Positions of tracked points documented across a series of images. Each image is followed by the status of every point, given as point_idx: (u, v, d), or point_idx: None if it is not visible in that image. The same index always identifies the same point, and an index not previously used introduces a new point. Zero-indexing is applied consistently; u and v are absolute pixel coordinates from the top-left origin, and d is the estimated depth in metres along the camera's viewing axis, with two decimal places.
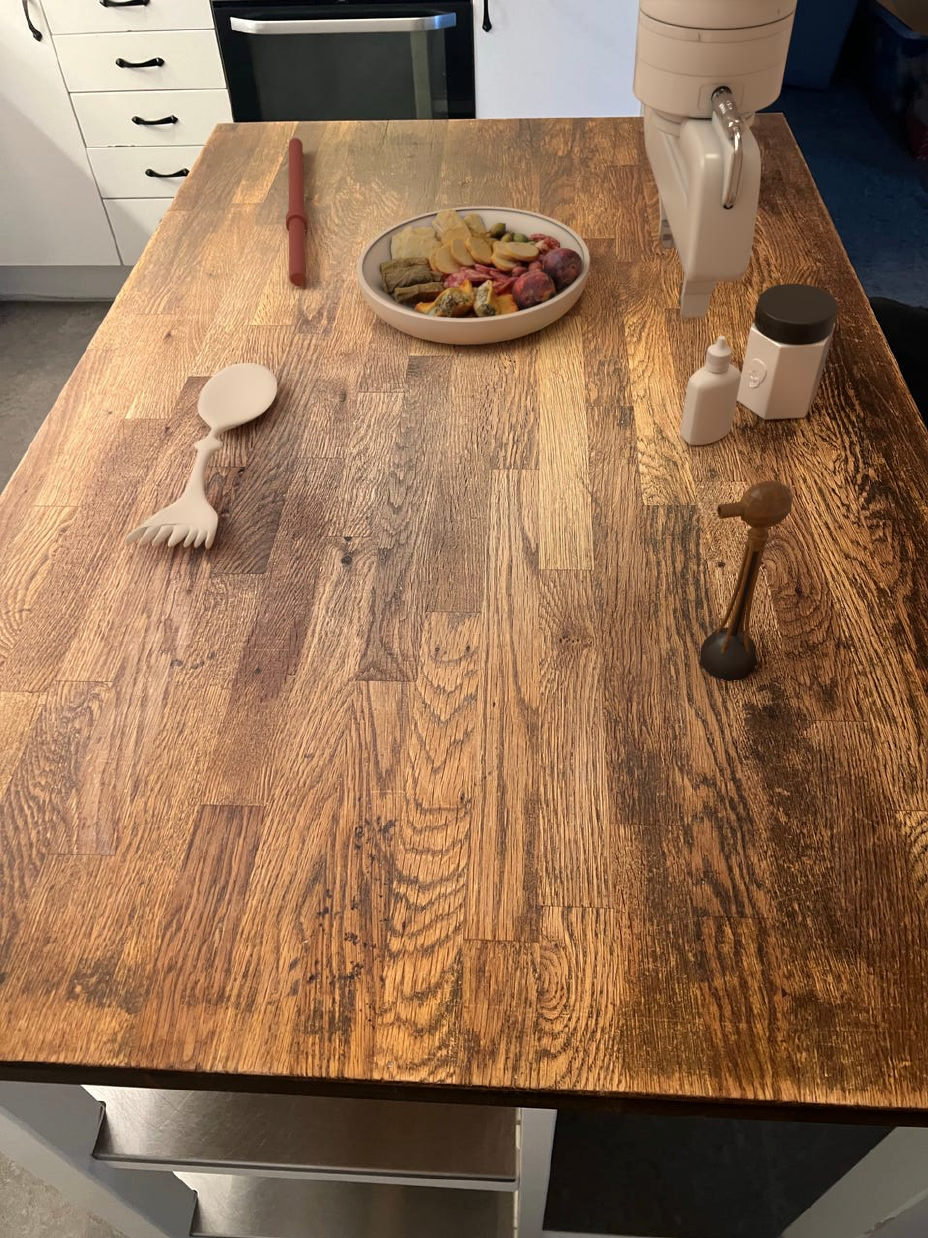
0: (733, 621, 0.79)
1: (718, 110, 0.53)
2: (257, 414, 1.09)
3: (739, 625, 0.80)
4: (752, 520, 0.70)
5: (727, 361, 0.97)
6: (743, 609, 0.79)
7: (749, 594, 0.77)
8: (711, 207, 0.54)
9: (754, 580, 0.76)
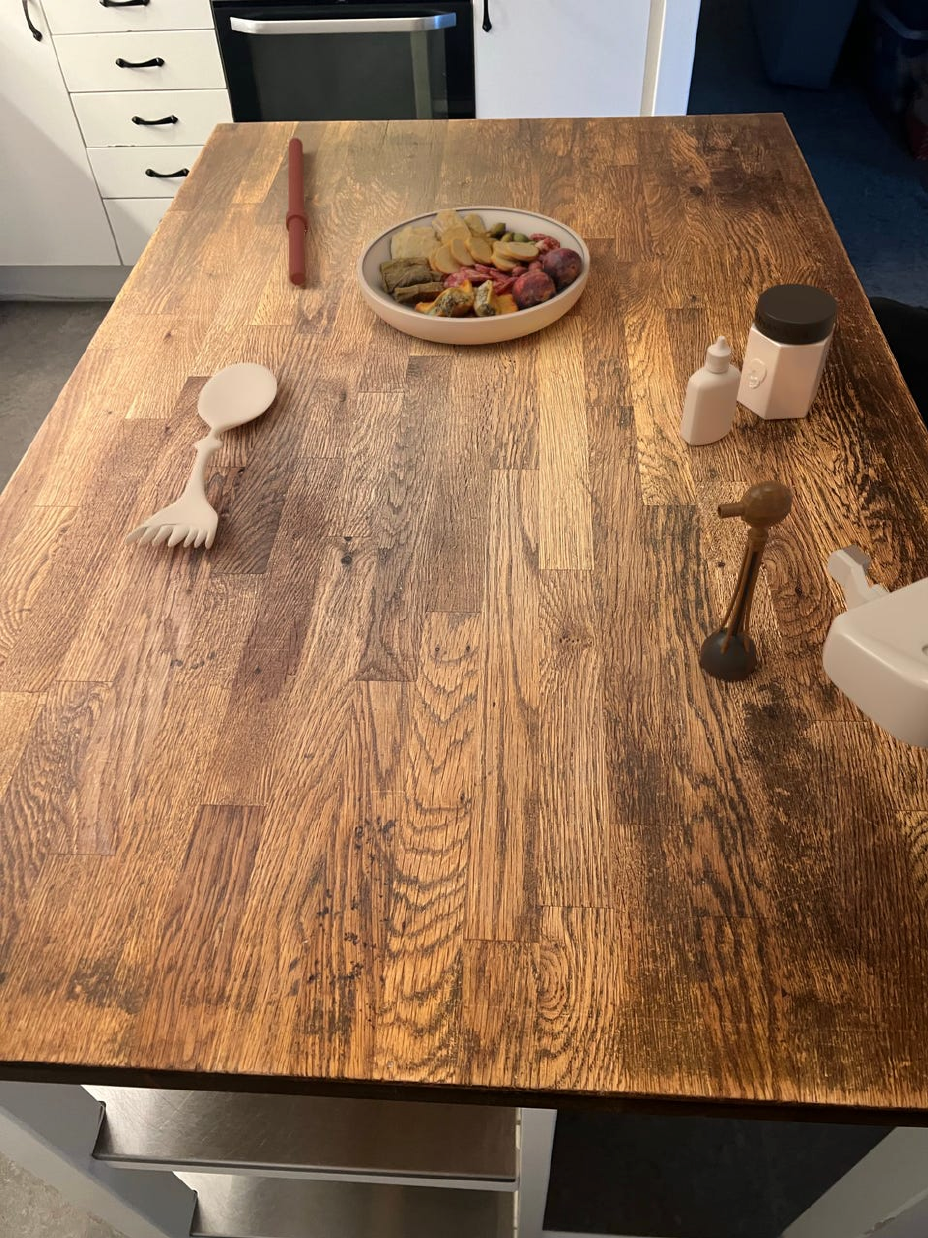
0: (733, 621, 0.79)
1: None
2: (257, 414, 1.09)
3: (739, 625, 0.80)
4: (752, 520, 0.70)
5: (727, 361, 0.97)
6: (743, 609, 0.79)
7: (749, 594, 0.77)
8: None
9: (754, 580, 0.76)
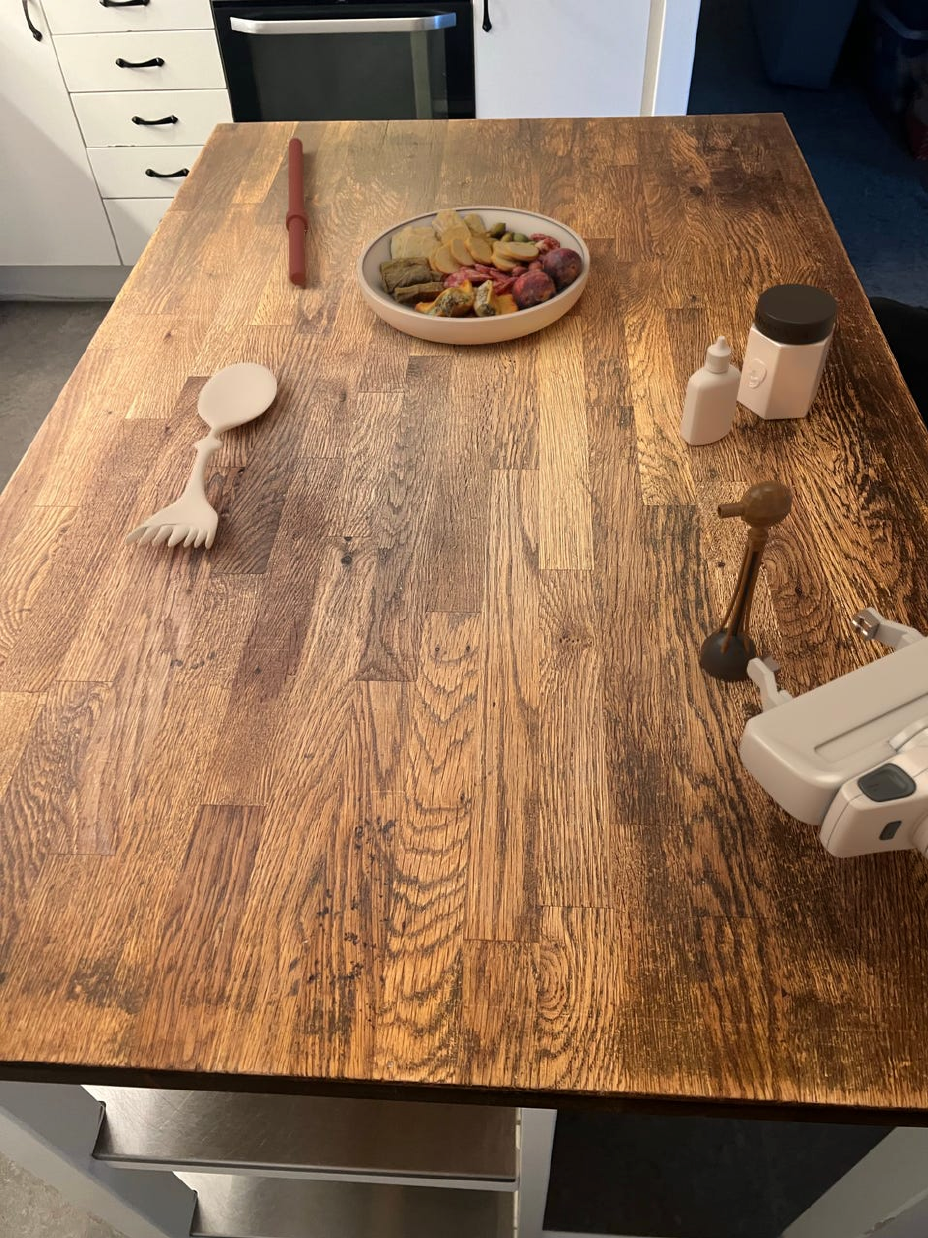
0: (733, 621, 0.79)
1: None
2: (257, 414, 1.09)
3: (739, 625, 0.80)
4: (752, 520, 0.70)
5: (727, 361, 0.97)
6: (743, 609, 0.79)
7: (749, 594, 0.77)
8: None
9: (754, 580, 0.76)
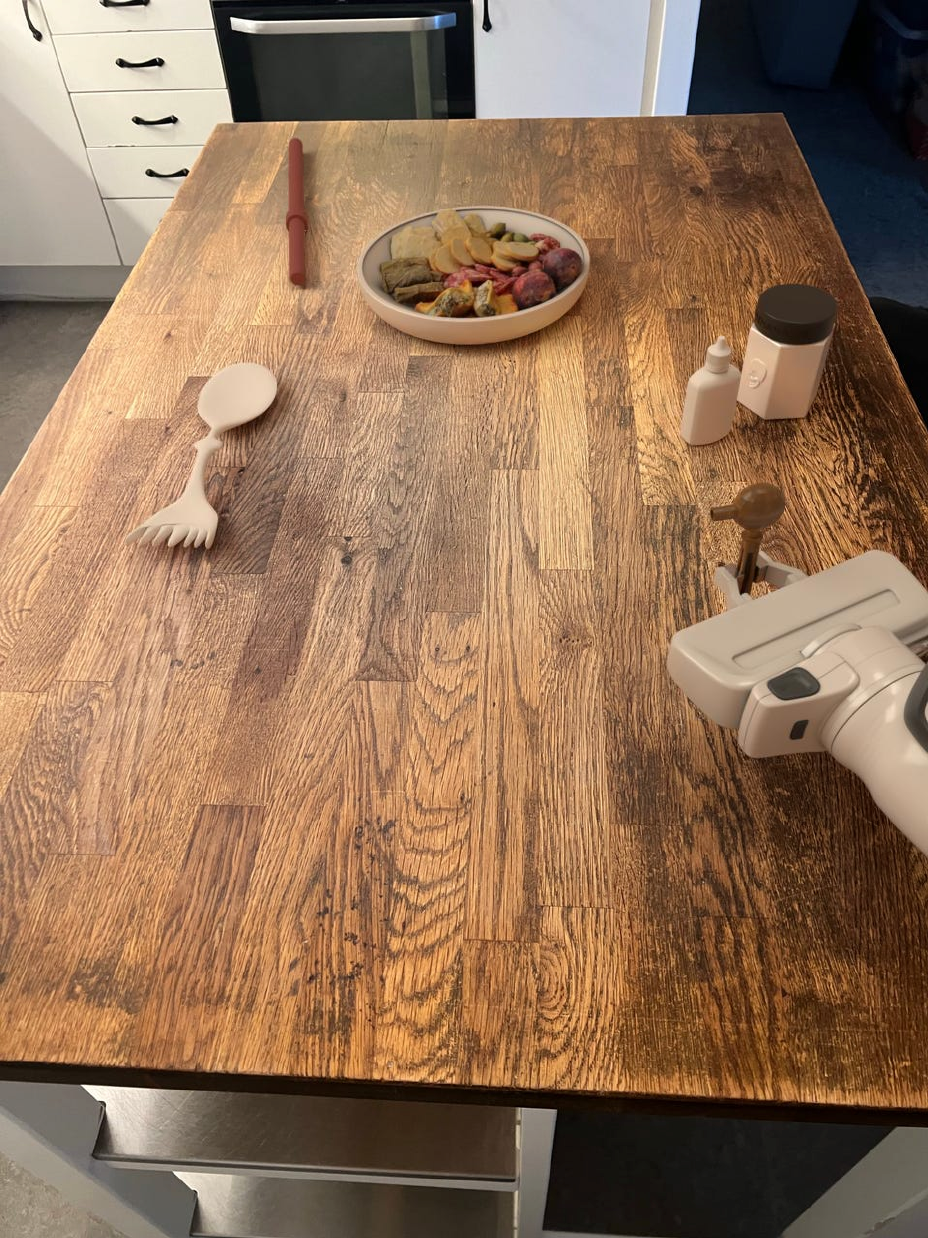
0: None
1: None
2: (257, 414, 1.09)
3: None
4: (745, 522, 0.70)
5: (727, 361, 0.97)
6: None
7: None
8: None
9: (750, 581, 0.76)
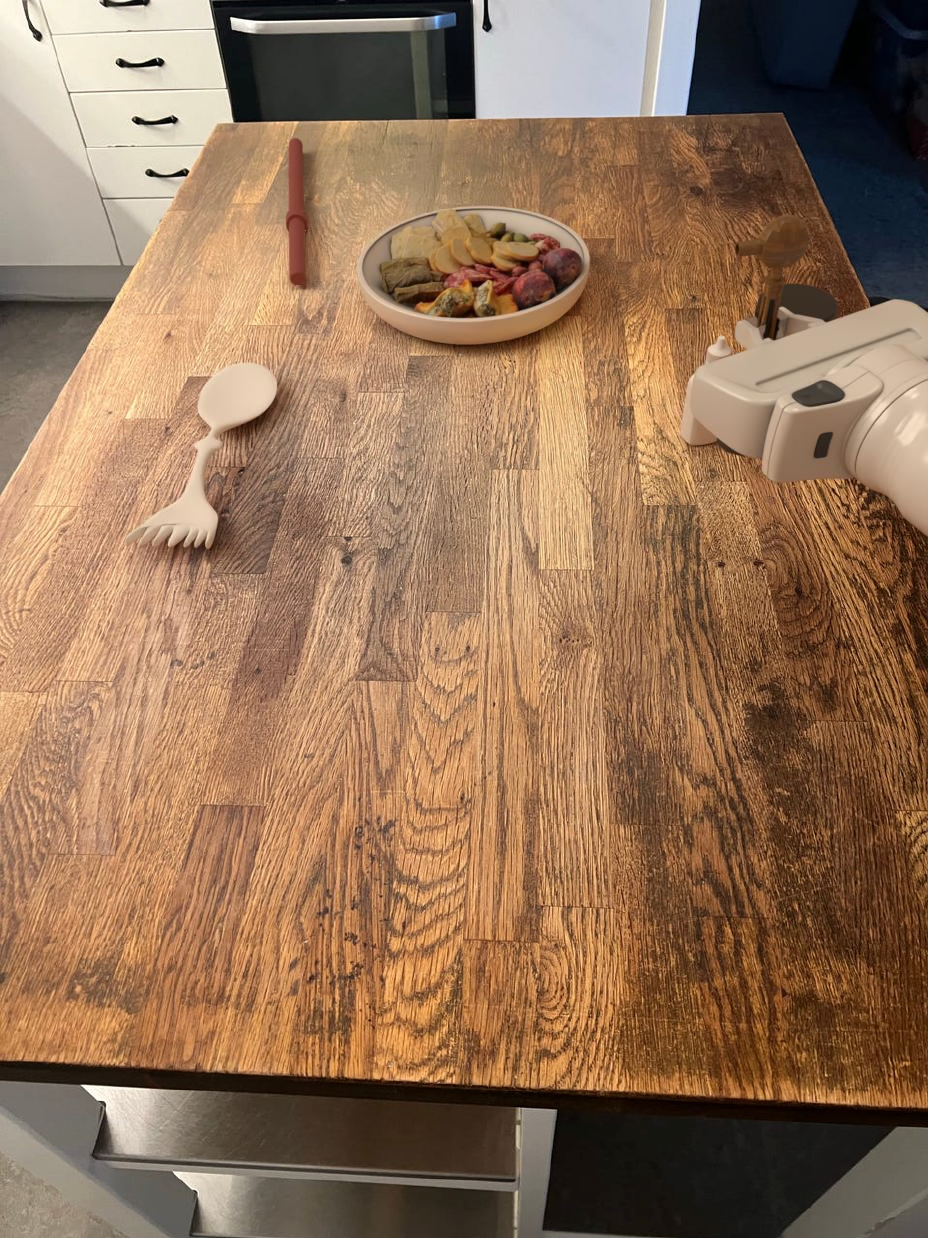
0: None
1: None
2: (257, 414, 1.09)
3: None
4: (770, 257, 0.71)
5: None
6: None
7: None
8: None
9: (771, 335, 0.76)
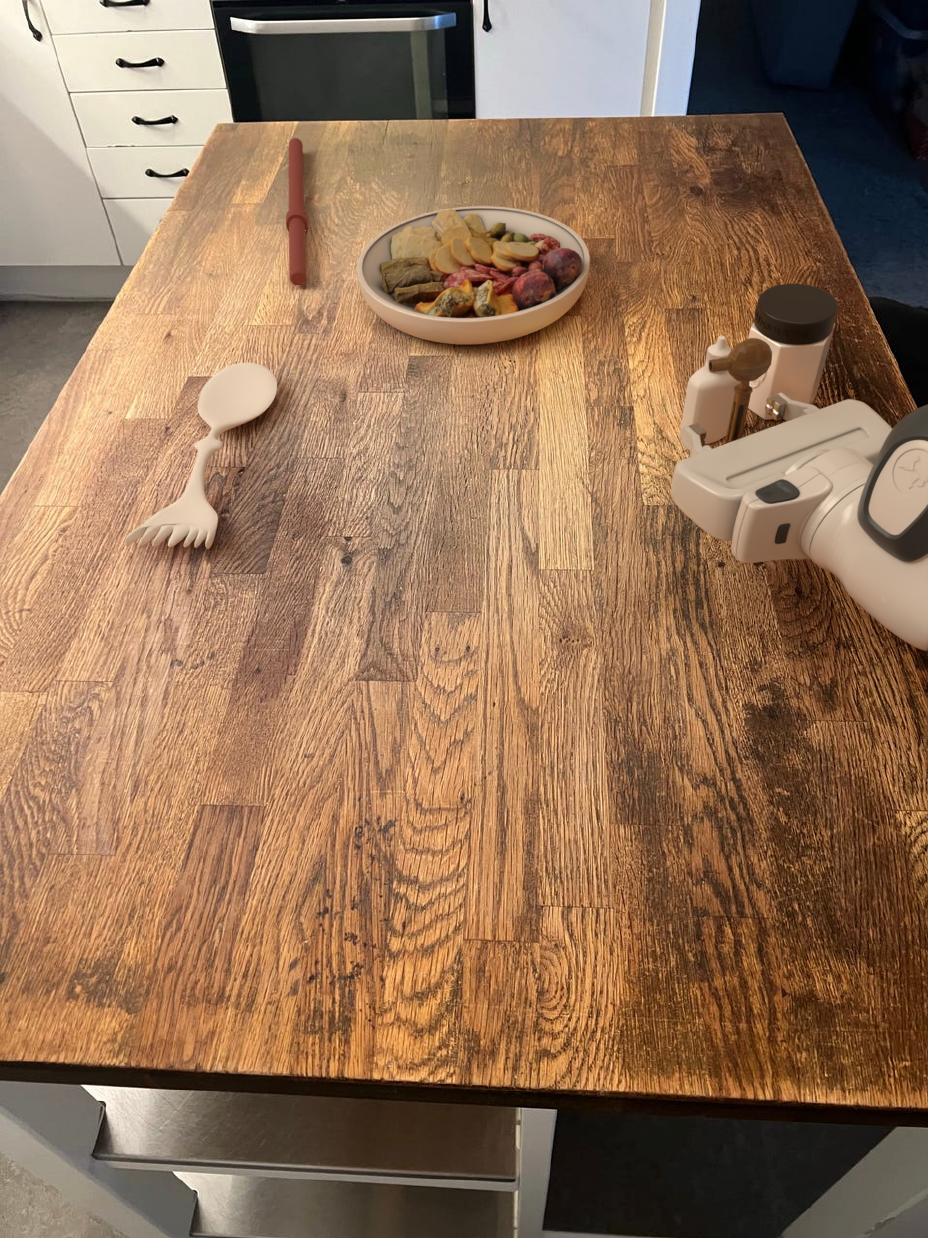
0: None
1: None
2: (257, 414, 1.09)
3: None
4: (738, 373, 0.83)
5: None
6: None
7: None
8: None
9: (740, 433, 0.88)
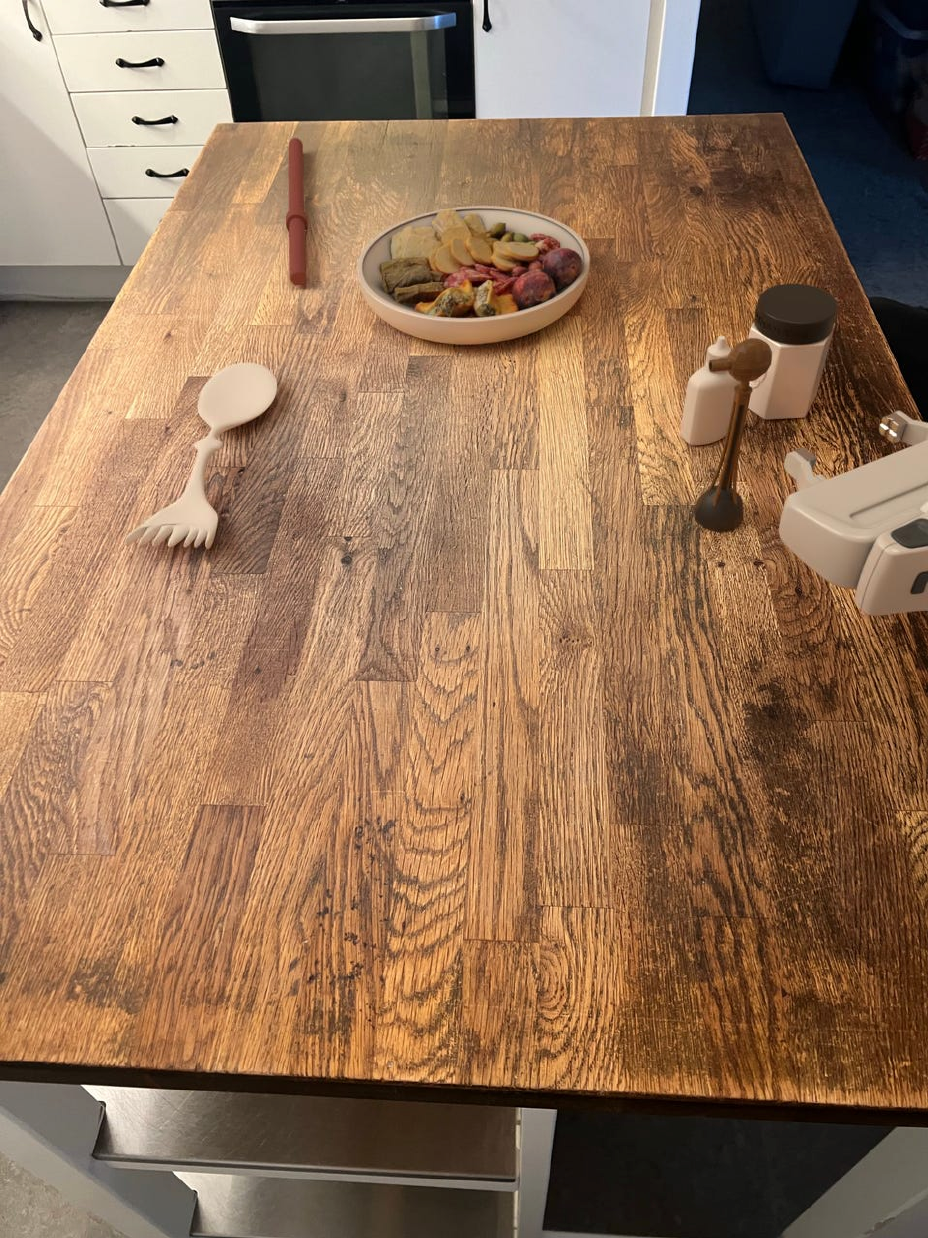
0: (723, 474, 0.91)
1: None
2: (257, 414, 1.09)
3: (728, 479, 0.93)
4: (738, 373, 0.83)
5: None
6: (731, 463, 0.91)
7: (736, 447, 0.89)
8: None
9: (740, 433, 0.88)
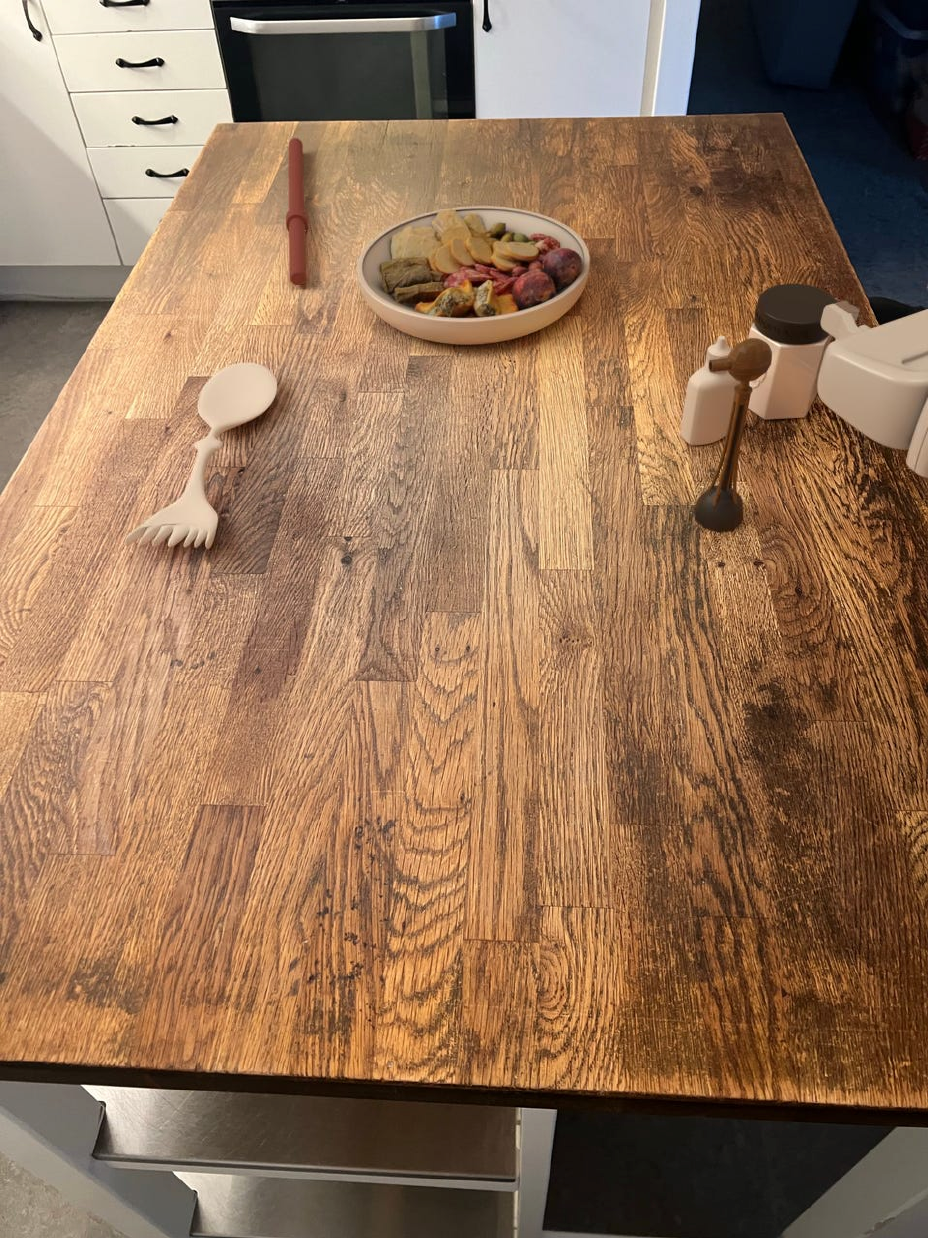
0: (723, 474, 0.91)
1: None
2: (257, 414, 1.09)
3: (728, 479, 0.93)
4: (738, 373, 0.83)
5: None
6: (731, 463, 0.91)
7: (736, 447, 0.89)
8: None
9: (740, 433, 0.88)
